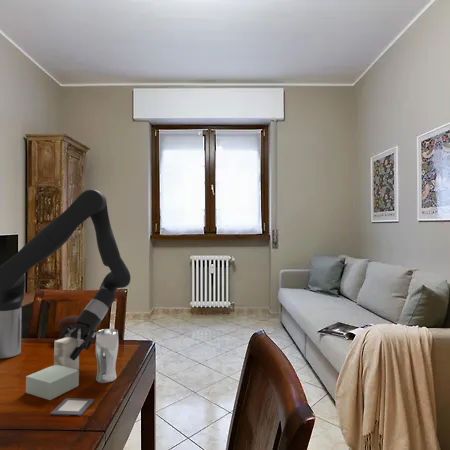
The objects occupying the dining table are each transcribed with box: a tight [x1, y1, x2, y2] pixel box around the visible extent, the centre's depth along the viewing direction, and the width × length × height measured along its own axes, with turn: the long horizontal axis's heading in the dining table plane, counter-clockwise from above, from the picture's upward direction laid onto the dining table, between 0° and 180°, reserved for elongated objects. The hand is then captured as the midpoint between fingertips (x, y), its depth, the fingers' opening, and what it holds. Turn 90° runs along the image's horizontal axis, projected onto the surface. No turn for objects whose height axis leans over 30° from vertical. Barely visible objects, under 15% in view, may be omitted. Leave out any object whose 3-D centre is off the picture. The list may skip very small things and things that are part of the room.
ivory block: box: [53, 337, 80, 370], centre depth 118 cm, size 6×6×10 cm
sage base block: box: [25, 364, 80, 401], centre depth 104 cm, size 10×10×5 cm
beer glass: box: [94, 328, 119, 384], centre depth 112 cm, size 7×7×15 cm
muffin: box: [57, 315, 79, 338], centre depth 150 cm, size 12×11×10 cm
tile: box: [49, 397, 95, 417], centre depth 94 cm, size 8×8×1 cm
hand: (63, 356), depth 117 cm, fingers open, 8 cm apart
